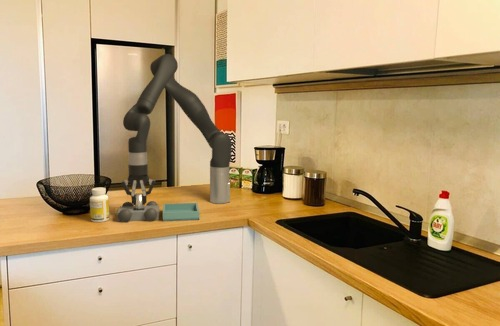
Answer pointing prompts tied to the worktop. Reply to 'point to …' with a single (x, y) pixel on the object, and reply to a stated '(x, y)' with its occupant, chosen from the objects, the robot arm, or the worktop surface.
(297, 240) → the worktop surface
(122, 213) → the trolley
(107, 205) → the supplement bottle
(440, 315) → the worktop surface
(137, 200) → the pin
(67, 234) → the worktop surface
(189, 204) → the tray
